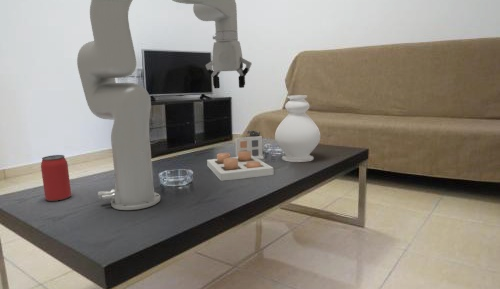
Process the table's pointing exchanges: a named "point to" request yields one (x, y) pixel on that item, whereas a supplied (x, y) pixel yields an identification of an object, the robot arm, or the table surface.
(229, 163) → the button front left
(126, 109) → the robot arm
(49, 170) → the beer can
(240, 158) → the button back right
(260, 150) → the pattern card
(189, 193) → the table surface
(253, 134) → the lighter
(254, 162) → the button front right
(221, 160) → the button back left
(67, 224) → the table surface
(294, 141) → the decorative vase
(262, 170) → the button board
